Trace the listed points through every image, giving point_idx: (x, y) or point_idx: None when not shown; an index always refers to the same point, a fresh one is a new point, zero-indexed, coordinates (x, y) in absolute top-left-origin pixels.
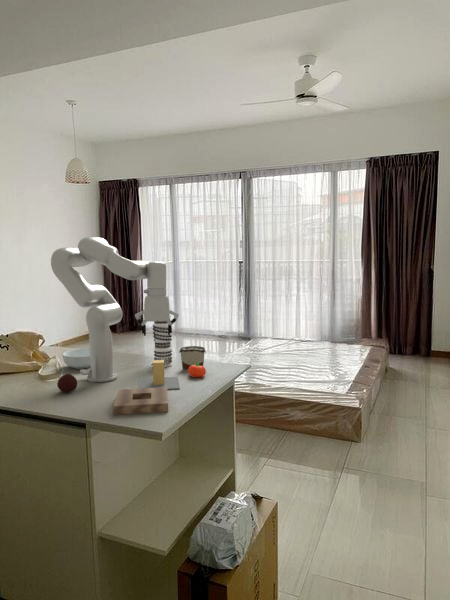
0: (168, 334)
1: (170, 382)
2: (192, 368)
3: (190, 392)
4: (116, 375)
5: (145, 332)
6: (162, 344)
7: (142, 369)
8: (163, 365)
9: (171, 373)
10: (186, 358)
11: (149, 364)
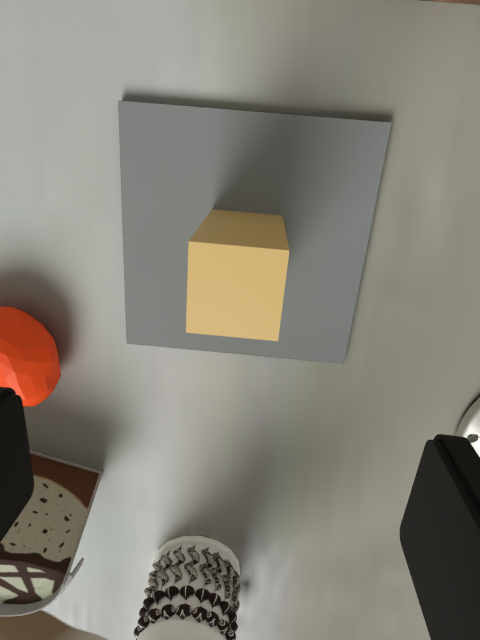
0: (8, 396)
1: (173, 240)
2: (15, 345)
3: (50, 7)
4: (469, 430)
5: (454, 474)
6: None
7: (305, 525)
8: (198, 235)
9: (162, 428)
10: (54, 516)
11: (262, 586)
